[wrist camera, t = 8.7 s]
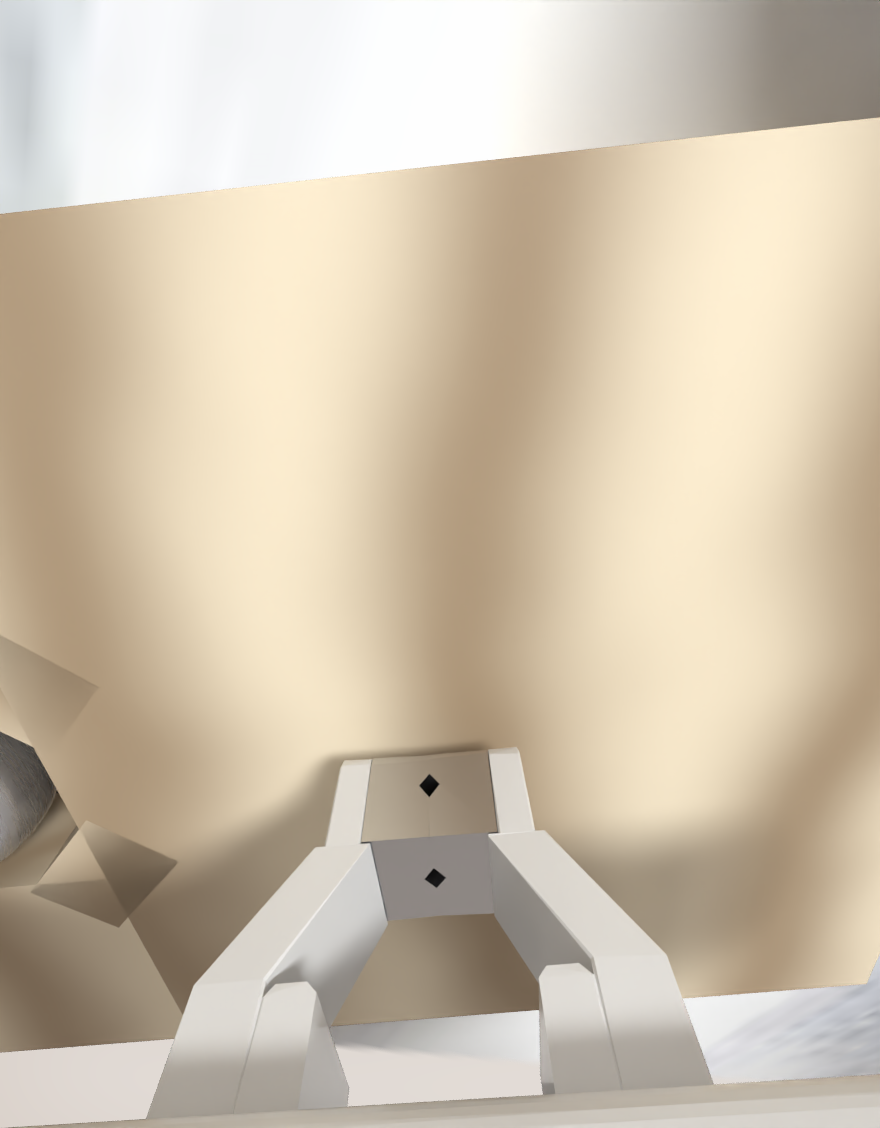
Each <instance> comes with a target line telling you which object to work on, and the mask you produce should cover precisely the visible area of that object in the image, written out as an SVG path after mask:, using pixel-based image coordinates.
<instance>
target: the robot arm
mask: <svg viewBox="0 0 880 1128" xmlns="http://www.w3.org/2000/svg"><path fill="white" fill-rule="evenodd" d="M491 913H494V915H495V918H496V919H497V921H498V922H499V924H500V925H501V927H502V928H503V930H504V931H505V933H506V934H507V936H508V938H509V939H510V941H511V942H512V944H513V945H514V947H515V948H516V950H517V951H518V953H519V954H520V956H521V957H522V959H523V960H524V962H525V963H526V965H527V966H528V968H529V970H530V971H531V973H532V974H533V976H534V977H535V979H536V980H537V982H538V983H539V1025H540V1076H541V1083H542V1091H543V1095H532V1096H516V1097H499V1098H484V1099H467V1100H450V1101H434V1102H417V1103H402V1104H386V1105H368V1106H352V1107H347V1103H348V1091H349V1086H348V1084H347V1080H346V1077H345V1075H344V1072H343V1069H342V1066H341V1063H340V1060H339V1057H338V1054H337V1051H336V1048H335V1045H334V1042H333V1039H332V1036H331V1033H330V1031H329V1028H330V1027H331V1025H332V1023H333V1021H334V1020H335V1018H336V1016H337V1014H338V1012H339V1011H340V1009H341V1007H342V1005H343V1004H344V1002H345V1000H346V998H347V996H348V995H349V993H350V991H351V989H352V988H353V986H354V984H355V982H356V980H357V979H358V977H359V975H360V973H361V972H362V970H363V968H364V966H365V964H366V963H367V961H368V959H369V957H370V956H371V954H372V952H373V950H374V948H375V947H376V945H377V943H378V941H379V940H380V938H381V936H382V934H383V933H384V931H385V929H386V927H387V925H388V923H387V921H392V920H402V919H412V918H422V917H431V916H443V915H467V914H491ZM11 1128H880V1074H877V1075H860V1076H844V1077H827V1078H811V1079H795V1080H778V1081H762V1082H745V1083H729V1084H713V1081H712V1078H711V1075H710V1073H709V1070H708V1067H707V1064H706V1062H705V1059H704V1056H703V1053H702V1051H701V1048H700V1045H699V1042H698V1040H697V1037H696V1034H695V1031H694V1029H693V1026H692V1023H691V1020H690V1018H689V1015H688V1012H687V1009H686V1007H685V1004H684V1001H683V998H682V996H681V993H680V990H679V987H678V985H677V982H676V979H675V976H674V974H673V971H672V968H671V965H670V963H669V960H668V957H667V955H666V954H665V953H664V952H663V951H662V950H661V949H660V948H659V946H658V945H657V944H656V943H655V942H654V941H653V940H652V939H651V938H650V937H649V936H648V935H647V934H646V933H645V932H644V931H643V930H642V929H641V928H640V927H639V926H638V925H637V924H636V923H635V922H634V921H633V920H632V919H631V918H630V917H629V916H628V915H627V914H626V913H625V912H624V911H623V910H622V909H621V908H620V907H619V906H618V905H617V904H616V903H615V902H614V901H613V900H612V899H611V897H610V896H609V895H608V894H607V893H606V892H605V891H604V890H603V889H602V888H601V887H600V886H599V885H598V884H597V883H596V882H595V881H594V880H593V879H592V878H591V877H590V876H589V875H588V874H587V873H586V872H585V871H584V870H583V869H582V868H581V867H580V866H579V865H578V864H577V863H576V862H575V861H574V860H573V859H572V858H571V857H570V856H569V855H568V854H567V853H566V852H565V851H564V850H563V849H562V847H561V846H560V845H559V844H558V843H557V842H556V841H555V840H554V839H553V838H552V837H551V836H550V835H549V834H548V833H547V832H546V831H545V830H536V831H535V828H534V823H533V818H532V812H531V807H530V802H529V797H528V792H527V787H526V782H525V777H524V772H523V767H522V762H521V757H520V752H519V750H518V749H517V747H511V748H500V749H489V750H488V752H487V750H478V751H467V752H456V753H445V754H433V755H426V756H408V757H389V758H374V759H364V760H344V762H343V764H342V766H341V768H340V771H339V776H338V781H337V786H336V791H335V796H334V801H333V806H332V811H331V816H330V821H329V826H328V831H327V835H326V840H325V845H324V846H323V847H315V848H314V849H313V850H312V851H311V853H310V854H309V855H308V856H307V857H306V858H305V859H304V861H303V862H302V863H301V864H300V865H299V866H298V867H297V868H296V870H295V871H294V872H293V873H292V874H291V875H290V876H289V878H288V879H287V880H286V881H285V882H284V883H283V884H282V886H281V887H280V888H279V889H278V890H277V891H276V892H275V894H274V895H273V896H272V897H271V898H270V899H269V900H268V902H267V903H266V904H265V905H264V906H263V907H262V908H261V909H260V911H259V912H258V913H257V914H256V915H255V916H254V917H253V919H252V920H251V921H250V922H249V923H248V924H247V925H246V927H245V928H244V929H243V930H242V931H241V932H240V933H239V935H238V936H237V937H236V938H235V939H234V940H233V941H232V942H231V944H230V945H229V946H228V947H227V948H226V949H225V950H224V952H223V953H222V954H221V955H220V956H219V957H218V958H217V960H216V961H215V962H214V963H213V964H212V965H211V966H210V968H209V969H208V970H207V971H206V972H205V973H204V974H203V975H202V977H201V978H200V979H199V980H198V981H197V982H196V983H195V985H194V986H193V989H192V992H191V994H190V997H189V1000H188V1003H187V1006H186V1008H185V1011H184V1014H183V1017H182V1020H181V1022H180V1025H179V1028H178V1031H177V1034H176V1036H175V1039H174V1042H173V1045H172V1048H171V1050H170V1053H169V1056H168V1059H167V1062H166V1064H165V1067H164V1070H163V1073H162V1076H161V1078H160V1081H159V1084H158V1087H157V1090H156V1092H155V1095H154V1098H153V1101H152V1104H151V1106H150V1109H149V1112H148V1115H147V1118H146V1119H140V1120H124V1121H108V1122H91V1123H76V1124H59V1125H45V1126H28V1127H11Z"/></svg>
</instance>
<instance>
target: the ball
mask: <svg viewBox="0 0 880 1128" xmlns="http://www.w3.org/2000/svg"><path fill="white" fill-rule="evenodd" d="M56 792H57V789H56V787H55V785H54V783H53V782H52V780H51V778H50V776H49V775H48V773H47V771H46V769H45V767H44V766H43V764H42V762H41V760H40V758H39V757H38V755H37V753H36V751H35V749H34V748H33V747H32V746H30V745H28V744H25V743H23V742H21V741H19V740H17V739H15V738H13V737H11V736H9V735H7V734H4V733H2V732H0V862H1V861H2V860H4V859H5V858H6V857H8V856H9V855H10V854H11V853H13V852H14V851H15V850H16V849H17V848H18V847H19V846H20V845H21V844H22V843H23V842H24V841H25V840H26V839H27V838H28V837H29V836H30V835H31V833H32V832H33V831H34V830H35V829H36V828H37V826H38V825H39V824H40V822H41V821H42V819H43V818H44V817H45V815H46V813H47V811H48V810H49V808H50V806H51V804H52V802H53V800H54V797H55V795H56Z"/></svg>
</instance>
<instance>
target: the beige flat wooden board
mask: <svg viewBox="0 0 880 1128" xmlns="http://www.w3.org/2000/svg"><path fill="white" fill-rule="evenodd" d="M0 732H2V733H4V734H7V735H9V736H11V737H13V738H15V739H17V740H19V741H21V742H23V743H25V744H28V745H30V746H32V747H33V748H34V749H35V751H36V753H37V755H38V757H39V758H40V760H41V762H42V764H43V766H44V767H45V769H46V771H47V773H48V775H49V776H50V778H51V780H52V782H53V783H54V785H55V787H56V789H57V791H58V792H59V793H56V795H55V797H54V800H53V802H52V804H51V806H50V808H49V810H48V811H47V813H46V815H45V817H44V818H43V819H42V821H41V822H40V824H39V825H38V826H37V828H36V829H35V830H34V831H33V832H32V833H31V835H30V836H29V837H28V838H27V839H26V840H25V841H24V842H23V843H22V844H21V845H20V846H19V847H18V848H17V849H16V850H15V851H14V852H13V853H11V854H10V855H9V856H8V857H6V858H5V859H4V860H2V861H1V862H0V1052H12V1051H24V1050H37V1049H50V1048H63V1047H75V1046H87V1045H101V1044H113V1043H126V1042H139V1041H150V1040H164V1039H175V1036H176V1034H177V1031H178V1028H179V1025H180V1022H181V1020H182V1017H183V1014H184V1011H185V1008H186V1006H187V1003H188V1000H189V997H190V994H191V992H192V989H193V986H194V985H195V983H196V982H197V981H198V980H199V979H200V978H201V977H202V975H203V974H204V973H205V972H206V971H207V970H208V969H209V968H210V966H211V965H212V964H213V963H214V962H215V961H216V960H217V958H218V957H219V956H220V955H221V954H222V953H223V952H224V950H225V949H226V948H227V947H228V946H229V945H230V944H231V942H232V941H233V940H234V939H235V938H236V937H237V936H238V935H239V933H240V932H241V931H242V930H243V929H244V928H245V927H246V925H247V924H248V923H249V922H250V921H251V920H252V919H253V917H254V916H255V915H256V914H257V913H258V912H259V911H260V909H261V908H262V907H263V906H264V905H265V904H266V903H267V902H268V900H269V899H270V898H271V897H272V896H273V895H274V894H275V892H276V891H277V890H278V889H279V888H280V887H281V886H282V884H283V883H284V882H285V881H286V880H287V879H288V878H289V876H290V875H291V874H292V873H293V872H294V871H295V870H296V868H297V867H298V866H299V865H300V864H301V863H302V862H303V861H304V859H305V858H306V857H307V856H308V855H309V854H310V853H311V851H312V850H313V849H314V848H315V847H323V846H324V845H325V840H326V835H327V831H328V826H329V821H330V816H331V811H332V806H333V801H334V796H335V791H336V786H337V781H338V776H339V771H340V768H341V766H342V764H343V762H344V760H364V759H374V758H389V757H408V756H426V755H433V754H445V753H456V752H467V751H478V750H487V752H488V750H489V749H500V748H511V747H517V749H518V750H519V752H520V757H521V762H522V767H523V772H524V777H525V782H526V787H527V792H528V797H529V802H530V807H531V812H532V818H533V823H534V828H535V831H536V830H545V831H546V832H547V833H548V834H549V835H550V836H551V837H552V838H553V839H554V840H555V841H556V842H557V843H558V844H559V845H560V846H561V847H562V849H563V850H564V851H565V852H566V853H567V854H568V855H569V856H570V857H571V858H572V859H573V860H574V861H575V862H576V863H577V864H578V865H579V866H580V867H581V868H582V869H583V870H584V871H585V872H586V873H587V874H588V875H589V876H590V877H591V878H592V879H593V880H594V881H595V882H596V883H597V884H598V885H599V886H600V887H601V888H602V889H603V890H604V891H605V892H606V893H607V894H608V895H609V896H610V897H611V899H612V900H613V901H614V902H615V903H616V904H617V905H618V906H619V907H620V908H621V909H622V910H623V911H624V912H625V913H626V914H627V915H628V916H629V917H630V918H631V919H632V920H633V921H634V922H635V923H636V924H637V925H638V926H639V927H640V928H641V929H642V930H643V931H644V932H645V933H646V934H647V935H648V936H649V937H650V938H651V939H652V940H653V941H654V942H655V943H656V944H657V945H658V946H659V948H660V949H661V950H662V951H663V952H664V953H665V954H666V955H667V957H668V960H669V963H670V965H671V968H672V971H673V974H674V976H675V979H676V982H677V985H678V987H679V990H680V993H681V996H682V998H695V997H708V996H720V995H733V994H745V993H758V992H771V991H783V990H796V989H809V988H821V987H834V986H847V985H859V984H867V982H868V979H869V977H870V975H871V972H872V970H873V968H874V966H875V963H876V961H877V959H878V956H879V954H880V117H878V118H869V119H860V120H851V121H841V122H832V123H823V124H814V125H805V126H796V127H787V128H778V129H769V130H760V131H751V132H741V133H732V134H723V135H714V136H705V137H696V138H687V139H678V140H669V141H660V142H651V143H641V144H632V145H623V146H614V147H605V148H596V149H587V150H578V151H569V152H560V153H550V154H541V155H532V156H523V157H514V158H505V159H496V160H487V161H478V162H469V163H460V164H450V165H441V166H432V167H423V168H414V169H405V170H396V171H387V172H378V173H369V174H359V175H350V176H341V177H332V178H323V179H314V180H305V181H296V182H287V183H278V184H269V185H259V186H250V187H241V188H232V189H223V190H214V191H205V192H196V193H187V194H178V195H168V196H159V197H150V198H141V199H132V200H123V201H114V202H105V203H96V204H87V205H78V206H68V207H59V208H50V209H41V210H32V211H23V212H14V213H5V214H0ZM387 923H388V925H387V927H386V929H385V931H384V933H383V934H382V936H381V938H380V940H379V941H378V943H377V945H376V947H375V948H374V950H373V952H372V954H371V956H370V957H369V959H368V961H367V963H366V964H365V966H364V968H363V970H362V972H361V973H360V975H359V977H358V979H357V980H356V982H355V984H354V986H353V988H352V989H351V991H350V993H349V995H348V996H347V998H346V1000H345V1002H344V1004H343V1005H342V1007H341V1009H340V1011H339V1012H338V1014H337V1016H336V1018H335V1020H334V1021H333V1023H332V1025H331V1026H341V1025H354V1024H366V1023H379V1022H391V1021H404V1020H417V1019H429V1018H442V1017H455V1016H467V1015H480V1014H493V1013H505V1012H518V1011H531V1010H539V983H538V982H537V980H536V979H535V977H534V976H533V974H532V973H531V971H530V970H529V968H528V966H527V965H526V963H525V962H524V960H523V959H522V957H521V956H520V954H519V953H518V951H517V950H516V948H515V947H514V945H513V944H512V942H511V941H510V939H509V938H508V936H507V934H506V933H505V931H504V930H503V928H502V927H501V925H500V924H499V922H498V921H497V919H496V918H495V915H494V913H491V914H467V915H443V916H431V917H422V918H412V919H402V920H392V921H387Z"/></svg>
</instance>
